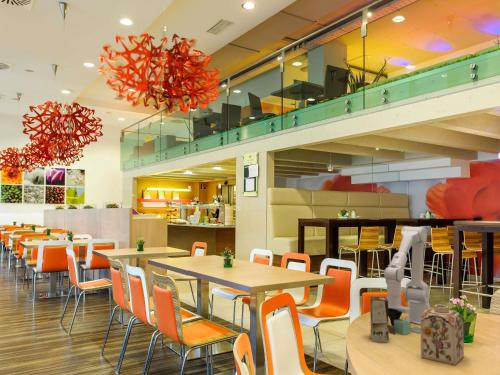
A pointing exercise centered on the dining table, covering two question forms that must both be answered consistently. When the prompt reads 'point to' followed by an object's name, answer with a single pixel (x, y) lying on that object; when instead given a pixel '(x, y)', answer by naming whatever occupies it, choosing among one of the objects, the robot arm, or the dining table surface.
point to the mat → (415, 330)
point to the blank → (402, 326)
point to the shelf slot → (391, 329)
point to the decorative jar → (442, 335)
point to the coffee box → (379, 319)
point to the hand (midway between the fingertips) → (394, 327)
